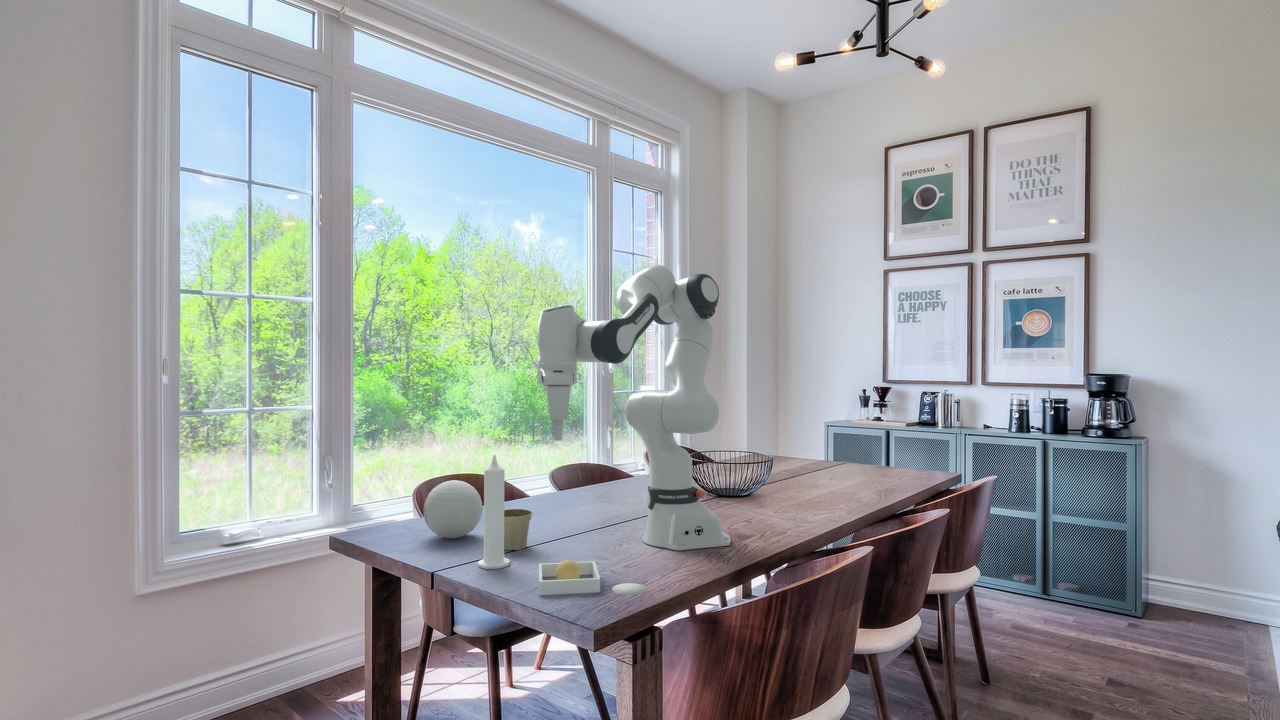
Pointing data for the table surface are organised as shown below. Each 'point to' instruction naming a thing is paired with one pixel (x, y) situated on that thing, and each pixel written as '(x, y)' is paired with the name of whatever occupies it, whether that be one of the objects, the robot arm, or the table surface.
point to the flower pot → (516, 528)
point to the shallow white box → (569, 580)
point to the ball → (568, 570)
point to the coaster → (629, 589)
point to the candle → (494, 518)
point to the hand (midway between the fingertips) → (556, 437)
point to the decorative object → (452, 509)
